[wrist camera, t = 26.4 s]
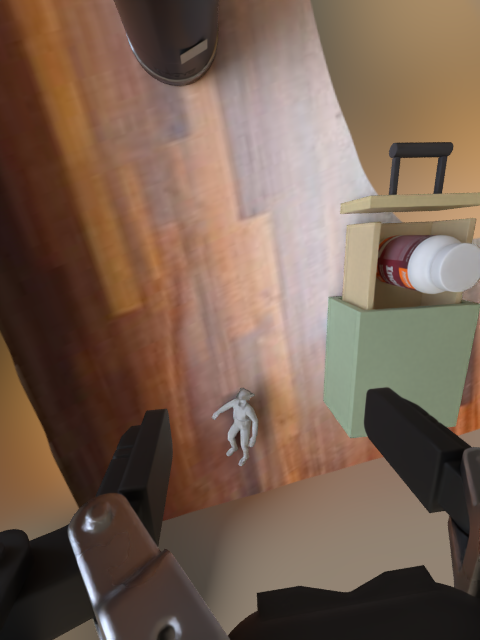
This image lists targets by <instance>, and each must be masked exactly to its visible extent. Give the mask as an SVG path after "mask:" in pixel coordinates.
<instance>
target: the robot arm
mask: <svg viewBox="0 0 480 640" xmlns="http://www.w3.org/2000/svg"><path fill="white" fill-rule="evenodd" d="M114 2H115V5H116V7H117V10H118V12H119V15H120V17H121V20H122V23H123V25H124V28H125V31H126V34H127V38H128V41H129V43H130V46H131V48H132V51H133V53H134V55H135V57H136V59H137V60H138V62H139V63H140V65H141V66H142V67H143V68H144V69H145V71H147V72H148V73H149V74H150V75H151V76H152V77H154V78H155V79H157V80H159V81H160V82H163V83H165V84H169V85H175V86H181V85H187V84H190V83H193V82H195V81H196V80H198V79H199V78H201V77H202V76H203V75H204V74H205V73H206V72H207V70H208V69H209V68H210V66H211V64H212V62H213V60H214V57H215V54H216V50H217V43H218V7H219V0H114ZM364 428H365V432H366V434H367V436H368V438H369V439H370V440H371V442H372V443H373V444H374V445H375V447H376V448H377V449H378V450H379V451H380V453H381V454H382V455H383V456H384V458H385V459H386V460H387V461H388V463H389V464H390V465H391V466H392V467H393V469H394V470H395V471H396V472H397V474H398V475H399V476H400V477H401V478H402V480H403V481H404V482H405V483H406V484H407V486H408V487H409V488H410V490H411V491H412V492H413V493H414V494H415V496H416V497H417V498H418V499H419V501H420V502H421V503H422V504H423V506H424V507H425V508H426V509H427V510H428V512H429V513H433V512H441V511H446V512H447V513H448V514H449V520H448V531H449V540H450V548H451V558H452V567H453V576H454V587H451V586H448V585H444V584H441V583H436V582H435V581H434V580H433V578H432V577H431V575H430V574H429V572H428V571H427V569H426V568H425V566H424V565H422V566H416V567H410V568H404V569H399V570H393V571H387V572H384V573H382V574H380V575H379V576H377V577H375V578H373V579H372V580H370V581H368V582H367V583H365V584H363V585H361V586H360V587H358V588H357V589H355V590H353V591H351V592H337V591H331V590H324V589H317V588H310V587H304V586H296V587H291V588H284V589H278V590H272V591H266V592H260V593H257V607H258V611H256V612H254V613H253V614H251V615H249V616H248V617H247V618H245V619H244V620H243V621H241V622H240V623H239V624H238V625H237V626H236V627H235V628H234V629H233V630H232V631H231V632H230V634H229V635H227V634H226V633H225V631H224V630H223V628H222V627H221V625H220V624H219V622H218V621H217V619H216V618H215V617H214V615H213V613H212V612H211V610H210V609H209V608H208V606H207V605H206V603H205V602H204V600H203V599H202V597H201V596H200V594H199V593H198V592H197V590H196V588H195V587H194V585H193V584H192V583H191V581H190V580H189V579H188V577H187V575H186V574H185V572H184V571H183V569H182V568H181V566H180V565H179V563H178V562H177V561H176V559H175V558H174V556H173V555H172V554H171V553H170V551H168V550H167V549H165V550H164V551H162V552H161V551H160V550H159V548H158V545H159V538H160V532H161V526H162V520H163V514H164V507H165V501H166V495H167V489H168V482H169V476H170V470H171V464H172V454H173V449H172V438H171V430H170V423H169V415H168V410H167V409H159V410H149V411H146V413H145V416H144V419H143V421H142V424H141V425H138V426H131V427H130V428H129V430H128V431H127V432H126V433H125V434H124V435H123V436H122V437H121V439H120V442H119V444H118V446H117V450H116V451H115V453H114V455H113V459H112V460H111V462H110V465H109V467H108V469H107V471H106V474H105V476H104V478H103V481H102V483H101V485H100V488H99V490H98V492H97V494H96V497H95V498H93V499H91V500H90V501H88V502H87V503H85V504H84V505H83V506H82V507H81V508H80V509H79V510H78V511H77V512H76V513H75V514H74V516H73V518H72V519H71V521H70V523H69V524H68V525H66V526H65V527H62V528H60V529H58V530H56V531H53V532H51V533H48V534H46V535H43V536H41V537H38V538H36V539H33V540H31V541H29V539H28V536H27V534H26V533H25V532H24V531H22V530H16V529H12V530H6V531H3V532H0V640H53V639H55V638H57V637H58V636H60V635H62V634H64V633H66V632H68V631H70V630H71V629H73V628H75V627H77V626H79V625H81V624H82V623H84V622H86V621H88V620H90V619H93V622H94V625H95V628H96V631H97V634H98V637H99V639H100V640H480V448H479V447H471V446H470V445H468V444H467V443H466V442H464V441H463V440H462V439H461V438H459V437H458V436H457V435H456V434H454V433H453V432H452V431H451V430H449V429H448V428H447V427H445V426H444V425H443V424H442V423H439V422H438V420H437V419H435V418H434V417H433V416H431V415H429V413H428V412H426V411H425V410H424V409H423V408H421V407H420V406H419V405H417V404H415V403H413V402H411V401H409V400H407V399H404V398H402V397H401V396H399V395H398V394H397V393H396V392H394V391H393V390H392V389H391V388H389V387H384V388H374V389H369V390H368V391H367V393H366V403H365V413H364Z"/></svg>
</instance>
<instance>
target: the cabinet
mask: <svg viewBox="0 0 480 640" xmlns="http://www.w3.org/2000/svg"><path fill="white" fill-rule="evenodd" d="M479 310H480V304H478V303H473V302H469V301H465V300H461V303H460V304H446V305H431V306H417V307H402V308H388V309H373V310H362V309H360V308H358V307H356V306H354V305H351V304H349V303H347V302H345V301H342V296H340V297H329V300H328V320H327V340H326V360H325V380H324V400H323V401H324V402H325V404H326V405H327V407H328V408H329V409H330V411H331V412H332V413H333V415H334V416H335V418H336V419H337V420H338V422H339V423H340V425H341V426H342V427H343V429H344V430H345V432H346V433H347V434H348V436H349V437H350V438H357V437H366V436H367V434H366V432H365V428H364V413H365V403H366V393H367V391H368V390H369V389H374V388H384V387H389V388H391V389H392V390H393V391H394V392H396V393H397V394H398V395H399V396H401V397H402V398H404V399H407V400H409V401H411V402H413V403H415V404H417V405H419V406H420V407H421V408H423V409H424V410H425V411H426V412H428V413H429V415H431V416H433V417H434V418H435V419H437V420H438V422H439V423H442V424H443V425H444V426H445V427H453V426H456V422H457V417H458V412H459V407H460V403H461V398H462V393H463V388H464V383H465V378H466V373H467V369H468V364H469V359H470V354H471V349H472V344H473V340H474V335H475V330H476V325H477V320H478V315H479Z"/></svg>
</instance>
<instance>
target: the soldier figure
mask: <svg viewBox="0 0 480 640" xmlns="http://www.w3.org/2000/svg"><path fill="white" fill-rule="evenodd" d="M252 396H255V394H253V393H251V392H250V391H248V390H246V389H244V388H240V391H239V393H238V394H237V396H236V398H235V399H234V400H232V401H230V402H228V403H226V404H225V405H224V406H222V407H221V408H220V409H219V410H218V411H217V412H216V413H214V415H213V416H212V419H213V420H214V418H215V420H216V418H217V416H218V415H219V414H220V413H222V412H224V411H226V410H228V409H230V408H231V407H233V409H234V412H233V418H234V420H235V421H234V423H233V425H232V426H231V428H230V430H229V433H228V440H229V441H230V443H231V445H232V448H231V449H229V450H228V451H227V453H226V455H227V456H231V455H232V453H233V452H234V451H237V450H238V447H237V444H236V440H235V436H236V435H237V433H238V432H239V431H240V433H241V447H242V450H243V453H244V456H243V457H242V458H241V460H240V461H239V465H240V466H243V465H244V464H245V461H246V460H247V459H248V458H249V454H248V444H249V442H248V441H250V444H251V445H252V446H254V444H255V442H256V436H257V432H258V419H257V416H256V414H255V411H254V409H253V407H251V406H250V405H249V403H247V402H246V400H248V401H249V399H250V398H251V397H252ZM250 419H251V420H252V422H253V423H252V431H253V436H252V437H251V438H250V440H249V435H250V426H251V420H250ZM250 444H249V446H250V447H252V446H251V445H250Z"/></svg>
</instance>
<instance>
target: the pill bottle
mask: <svg viewBox="0 0 480 640" xmlns="http://www.w3.org/2000/svg"><path fill="white" fill-rule="evenodd" d="M376 279H378V280H379V281H381V282H384V283H387V284H391V285H395V286H398V287H402V288H406V289H410V290H414V291H418V292H423V293H427V294H437V293H441V292H444V291H450V292H462V291H465V290H467V289H469V288H471V287H472V286H473V285H475V284H476V283H477V281H478V280H479V279H480V247H478V246H477V245H475V244H472V243H461V242H460V241H459V240H458V239H456V238H454V237H451V236H447V235H396V236H390V237H387V238H385V239H383V240H382V241H381V242H379V251H378V262H377V272H376Z"/></svg>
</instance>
